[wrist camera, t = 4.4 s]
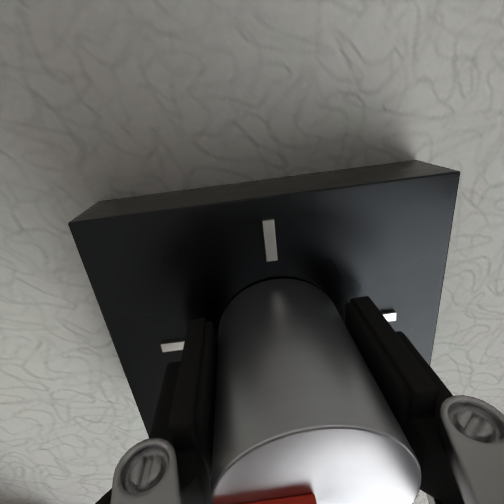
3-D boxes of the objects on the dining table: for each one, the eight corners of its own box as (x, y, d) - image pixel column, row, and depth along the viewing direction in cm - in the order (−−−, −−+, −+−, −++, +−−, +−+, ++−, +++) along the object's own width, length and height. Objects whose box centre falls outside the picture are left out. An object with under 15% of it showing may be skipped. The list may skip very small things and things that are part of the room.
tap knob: (338, 269, 11) (446, 426, 5) (338, 367, 12) (419, 557, 7) (208, 287, 11) (188, 462, 5) (228, 383, 12) (227, 584, 7)
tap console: (416, 159, 12) (464, 172, 9) (396, 361, 16) (426, 406, 14) (98, 201, 12) (64, 224, 9) (161, 394, 16) (149, 445, 13)
